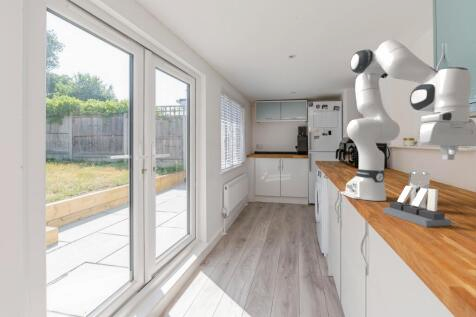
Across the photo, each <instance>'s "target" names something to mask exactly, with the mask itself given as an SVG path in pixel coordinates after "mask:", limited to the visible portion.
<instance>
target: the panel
mask: <svg viewBox="0 0 476 317" xmlns="http://www.w3.org/2000/svg"><path fill="white" fill-rule="evenodd" d="M382 209H383V210H382V211H383V212H382V213H383V214H385V215H389V216H392V217H395V218H398V219H400V220H404V221H408V222H409V223H410V222H411V223H413V224H416V225H419V226H422V227H425V228H429V227H430V228H431V227H448V226H452V218H448V217H445V216H446V213H444V212H441V211H438V210H437V211H431V210H427V208H426V209H425V208H421V207H420V208H418V207H414V206H411V205H410V204H409V203H406V202H405V204H403V203H399V202H398V201H390V202H389V207H387V206H386V207H383V208H382Z"/></svg>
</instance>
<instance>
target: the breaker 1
mask: <svg viewBox="0 0 476 317" xmlns="http://www.w3.org/2000/svg"><path fill="white" fill-rule="evenodd" d="M412 190H413V187H412V186H409V185H405V186H404V189H403V190H402V192H401V194H400V195H399V197H398V199H397V202H399V203H403V204H405V203H406V202H407V200H408V198H410V193H411V192H412Z"/></svg>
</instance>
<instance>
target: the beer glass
mask: <svg viewBox="0 0 476 317" xmlns="http://www.w3.org/2000/svg"><path fill="white" fill-rule="evenodd" d="M430 179H431V178H430V173H429V172H421V171H410V172H409V174H408V185H407V186H412V187H413V190H412V192H411V193H410V195H409V203H408V204H410V205H411V206H412V203H413V201H414V199H415V198H416V196H417V194H418V192H419V191H420V189H421V188H423V189H430V181H431V180H430ZM427 198H428V195H427V196H426V197H425V199H424V201H423V203H422V205H421V206H420V207H421V208H425V209H427V204H426V202H427Z"/></svg>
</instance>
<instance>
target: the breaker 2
mask: <svg viewBox="0 0 476 317" xmlns="http://www.w3.org/2000/svg"><path fill="white" fill-rule="evenodd" d="M426 196H427V197H428V189H423V188H421V189H420V191H419V192H418V194H417V196H416V198H415V199H414V201H413V203H412V206H414V207H418V208H420V206H421V205H422V203H423V201H424V199H425V197H426ZM427 197H426V198H427Z"/></svg>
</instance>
